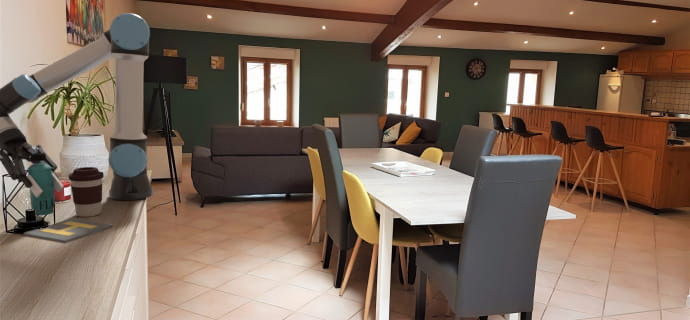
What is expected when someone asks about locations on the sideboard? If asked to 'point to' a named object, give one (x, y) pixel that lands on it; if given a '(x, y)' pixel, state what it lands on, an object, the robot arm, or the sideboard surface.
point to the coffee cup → (87, 191)
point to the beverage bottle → (42, 185)
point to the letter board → (68, 230)
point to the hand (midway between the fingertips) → (50, 191)
